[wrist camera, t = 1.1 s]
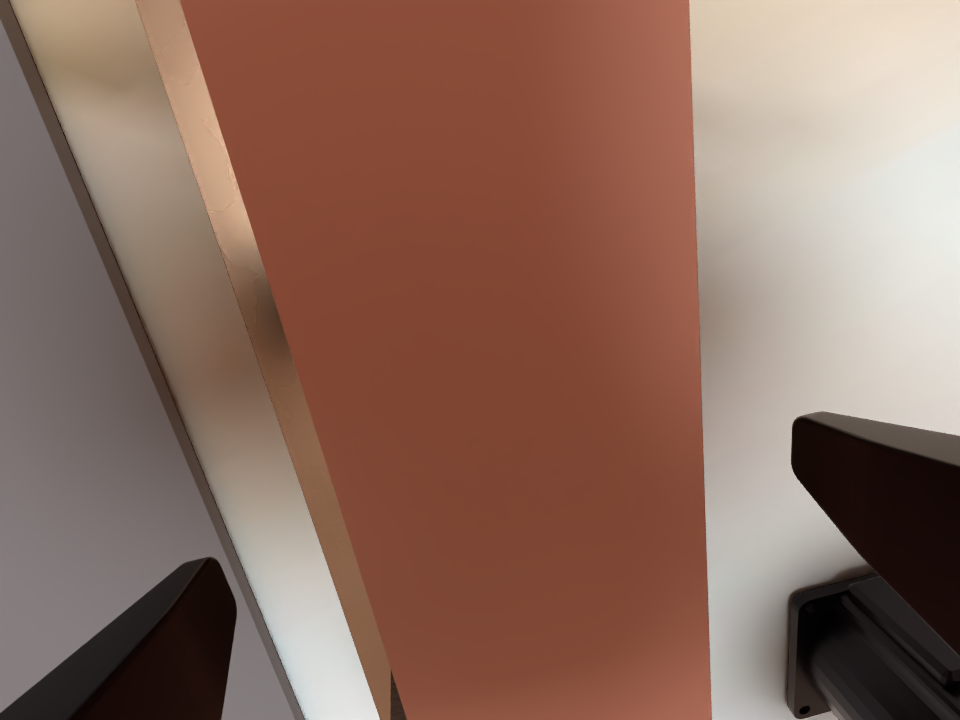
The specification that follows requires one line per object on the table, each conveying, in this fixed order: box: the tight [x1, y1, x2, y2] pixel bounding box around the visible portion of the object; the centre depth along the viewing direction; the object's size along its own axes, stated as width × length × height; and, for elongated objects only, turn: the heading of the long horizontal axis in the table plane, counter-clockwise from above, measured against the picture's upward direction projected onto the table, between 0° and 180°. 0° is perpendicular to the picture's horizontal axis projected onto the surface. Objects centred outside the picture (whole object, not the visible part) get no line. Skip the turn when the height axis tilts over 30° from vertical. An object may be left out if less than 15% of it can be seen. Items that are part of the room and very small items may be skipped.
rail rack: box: [135, 0, 407, 720], centre depth 12 cm, size 28×10×9 cm, turn 10°
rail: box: [180, 0, 712, 720], centre depth 8 cm, size 26×4×4 cm, turn 10°
